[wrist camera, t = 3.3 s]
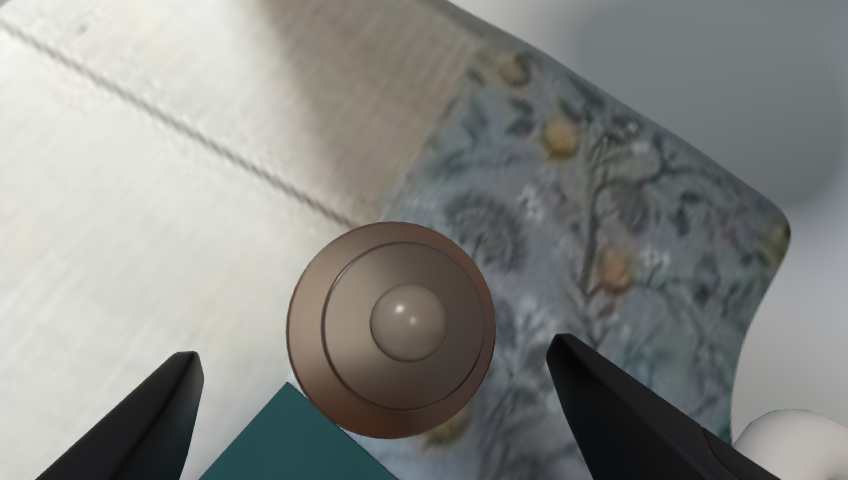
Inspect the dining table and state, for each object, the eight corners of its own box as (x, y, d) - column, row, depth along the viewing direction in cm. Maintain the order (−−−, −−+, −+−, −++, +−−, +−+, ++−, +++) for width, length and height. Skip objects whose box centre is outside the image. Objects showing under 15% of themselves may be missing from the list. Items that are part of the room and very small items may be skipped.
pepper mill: (369, 408, 17) (434, 547, 6) (284, 331, 17) (198, 339, 6) (440, 319, 18) (586, 307, 8) (363, 249, 18) (405, 142, 8)
